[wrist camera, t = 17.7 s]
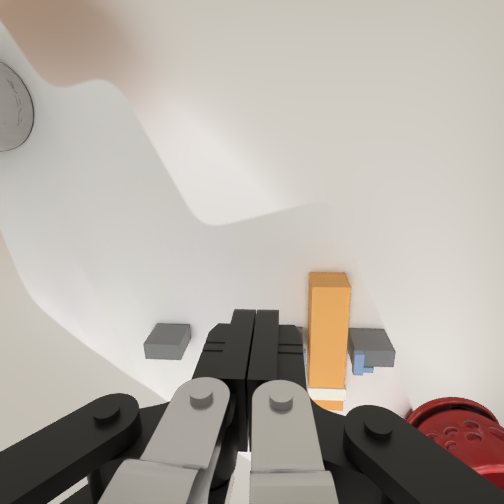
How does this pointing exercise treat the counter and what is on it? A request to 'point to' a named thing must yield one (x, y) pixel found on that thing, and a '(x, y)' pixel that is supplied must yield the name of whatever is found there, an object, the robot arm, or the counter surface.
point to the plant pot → (465, 434)
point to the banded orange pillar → (327, 338)
